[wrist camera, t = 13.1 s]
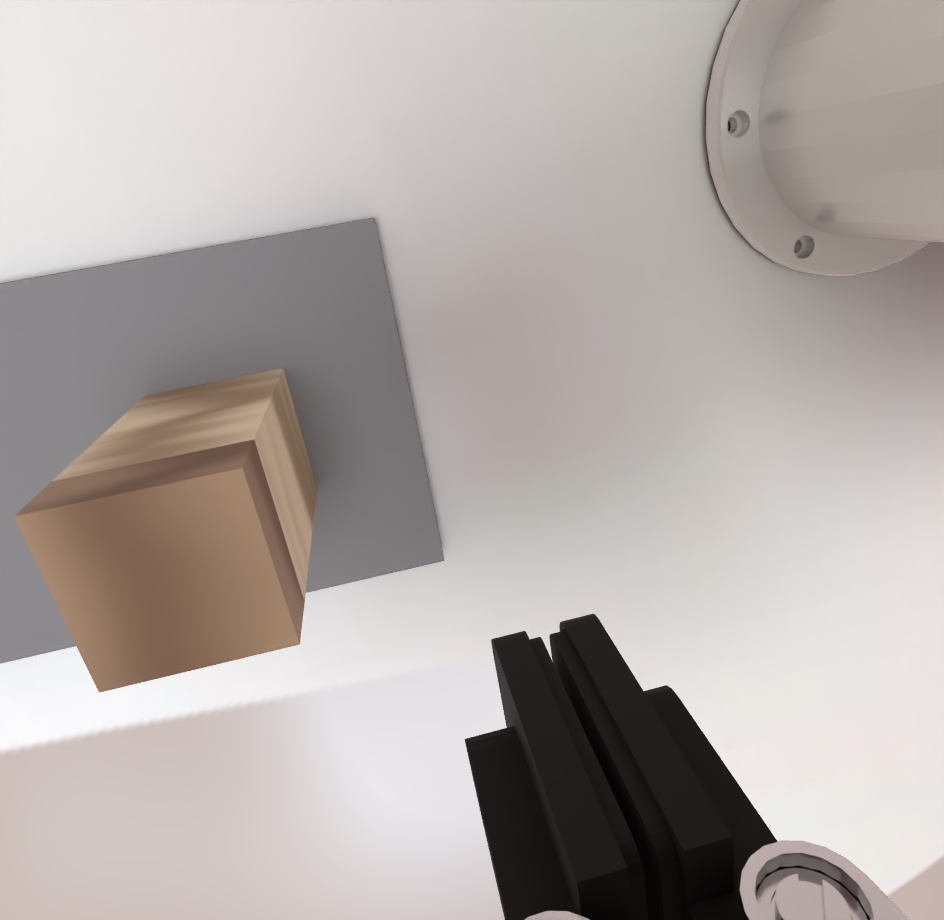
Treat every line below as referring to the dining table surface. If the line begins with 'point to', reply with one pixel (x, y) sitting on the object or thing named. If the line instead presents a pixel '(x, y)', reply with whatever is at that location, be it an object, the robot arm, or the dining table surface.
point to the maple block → (181, 532)
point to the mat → (209, 360)
